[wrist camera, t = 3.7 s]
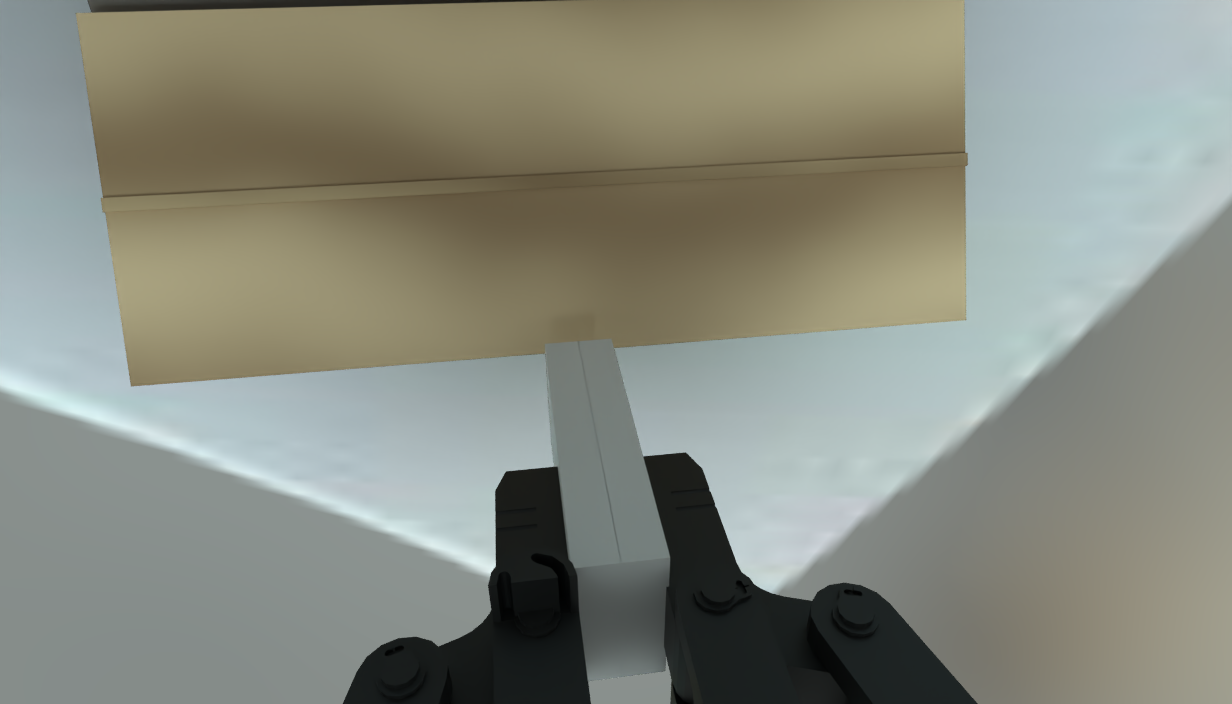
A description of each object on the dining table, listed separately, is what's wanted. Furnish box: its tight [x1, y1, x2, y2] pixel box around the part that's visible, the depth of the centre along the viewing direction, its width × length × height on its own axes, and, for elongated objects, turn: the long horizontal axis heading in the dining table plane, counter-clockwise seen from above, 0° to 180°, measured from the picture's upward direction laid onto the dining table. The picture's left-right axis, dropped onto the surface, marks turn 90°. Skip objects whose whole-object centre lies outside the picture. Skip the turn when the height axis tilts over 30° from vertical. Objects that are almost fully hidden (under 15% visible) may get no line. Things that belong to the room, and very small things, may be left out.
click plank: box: [76, 0, 968, 386], centre depth 18 cm, size 8×20×1 cm, turn 91°
